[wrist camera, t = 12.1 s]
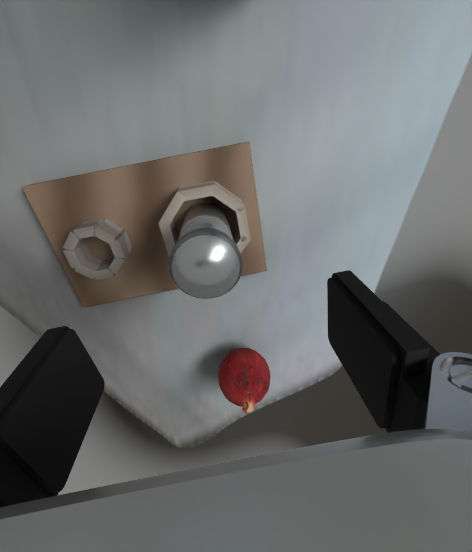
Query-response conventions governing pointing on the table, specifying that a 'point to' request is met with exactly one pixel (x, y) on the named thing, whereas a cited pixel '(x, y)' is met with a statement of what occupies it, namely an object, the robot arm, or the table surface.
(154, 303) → the table surface
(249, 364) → the onion
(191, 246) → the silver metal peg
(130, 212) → the fitting board
